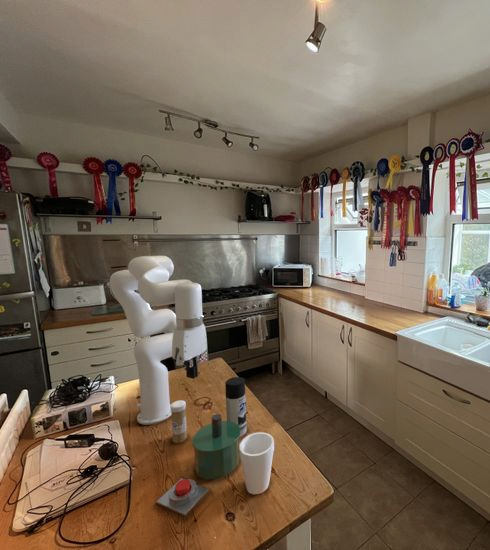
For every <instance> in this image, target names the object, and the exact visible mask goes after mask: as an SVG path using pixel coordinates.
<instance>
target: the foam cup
mask: <svg viewBox="0 0 490 550" xmlns="http://www.w3.org/2000/svg"><path fill="white" fill-rule="evenodd" d="M274 451H275V440H274V437H273V436H272V435H271V433H267V432H264V431H262V432H261V431H260V432H252V433H250V434H248V435H247V436H245V437H243V439H242V440H241V441H240V442H239V459H240V461H241V467H242V472H243V477H244V483H245V489H246V491H247V493H249V494H251V495H259V494H262V493H264V492H265V491H266V490H267V489H268V488H269V485H270V481H271V473H272V467H273V464H272V463H273V457H274Z"/></svg>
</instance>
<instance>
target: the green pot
mask: <svg viewBox="0 0 490 550" xmlns="http://www.w3.org/2000/svg"><path fill="white" fill-rule="evenodd" d="M193 448H194V447H193ZM193 452H194V471H195V474H196V475H197V476H198V477H199V478H201V479H204V480H217V479H219V478H223V477H225V476H227V475H228V474H230V473H232V472H233V471H234V470H235V469H236V467H237V466H238V464H239V462H240V437H239V438H238V440H237V441H236V442H235V443H234V444H232V445H231V446H229V447H228V448H226V449H223V450H221V451H217V452H210V453H206V452H200V451H198V450H196V449H195V448H194V450H193Z"/></svg>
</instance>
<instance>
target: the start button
mask: <svg viewBox="0 0 490 550" xmlns="http://www.w3.org/2000/svg"><path fill="white" fill-rule="evenodd" d="M182 479H183V480H181V481H179V480H178V481H179V482H178V481H177V482H178V483H177V482H176V483H177V484H176V483H175V484H176V485H175V484H174V485H175V494H176V495H177V496H183V495H185V494H187V493H188V492H189V491H190V481H189V480H188V479H189V478H182Z"/></svg>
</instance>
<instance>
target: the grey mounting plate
mask: <svg viewBox="0 0 490 550" xmlns="http://www.w3.org/2000/svg"><path fill="white" fill-rule="evenodd" d="M183 479H184V478H182V477H181V478H180V479H179V480H178V481H177V482H176V483H174V484H173V485H172V486H171V487H170V488H169V489H168V490H167V491H166V492H164V493H163V494H162V495H161V496H160V497H159V498H158V499H157V500H156V502H155V503H156V505H157V506H160V507H163V508H165V509H167V510H168V511H171V512H174V513H176V514H177V515H180V516H182V517H184V518H185V517H187V516H188V515H189V514H190V512H191V511H193V509H194V508H195V507H196V506H197V505H198V504H199V503H200V502H201V501H202V500H203V498H205V496H206V495H207V494H208V493H209V492H210V488H208V487H205V486H203V485H200V484H197V482H196V480H194V479H191V478H187V479H188V480H189V481H190V491H189V492H188V493H187V494H185V495H183V496H177V495H176V494H175V485H176V484H177V483H178V482H179V481H181V480H183Z"/></svg>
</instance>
